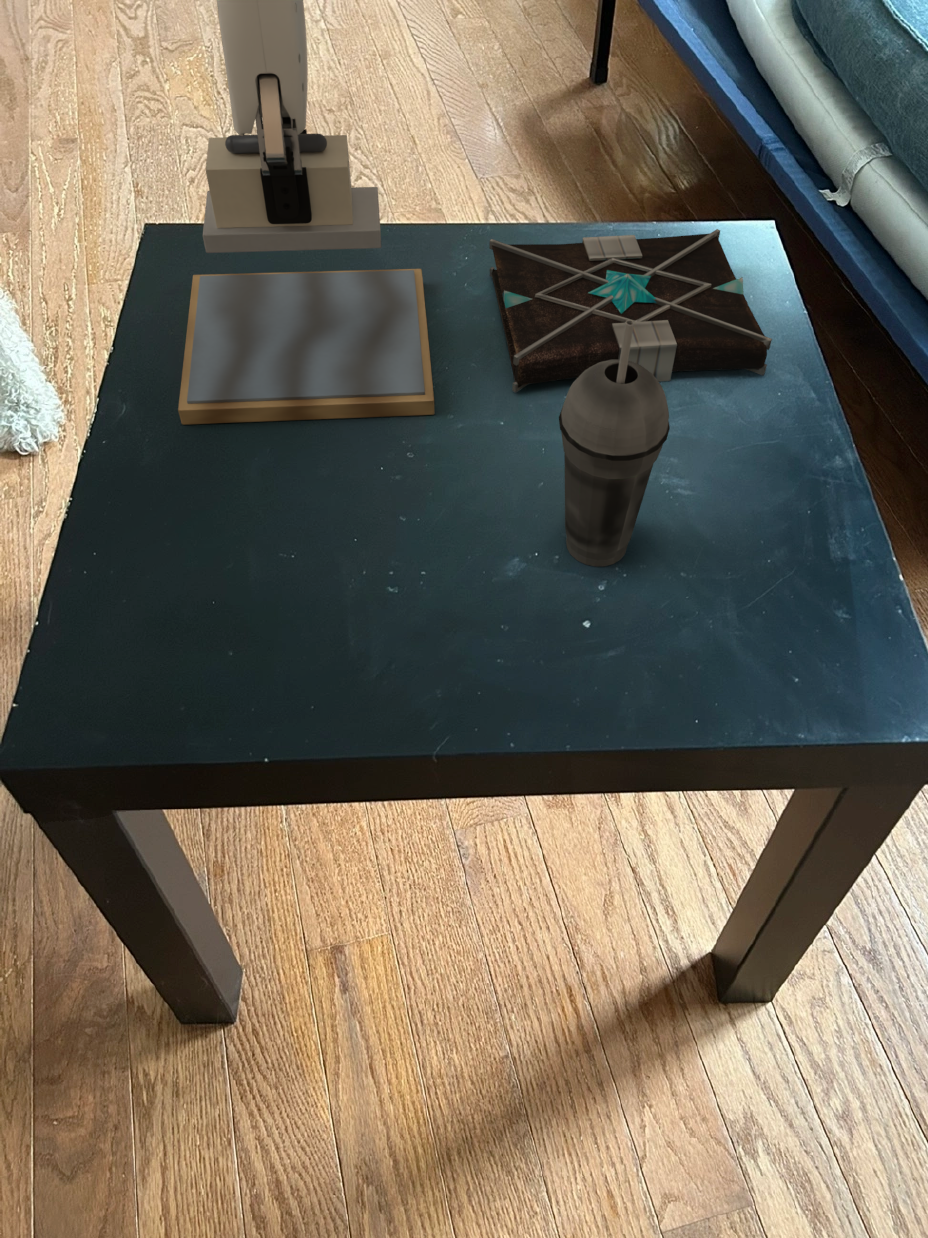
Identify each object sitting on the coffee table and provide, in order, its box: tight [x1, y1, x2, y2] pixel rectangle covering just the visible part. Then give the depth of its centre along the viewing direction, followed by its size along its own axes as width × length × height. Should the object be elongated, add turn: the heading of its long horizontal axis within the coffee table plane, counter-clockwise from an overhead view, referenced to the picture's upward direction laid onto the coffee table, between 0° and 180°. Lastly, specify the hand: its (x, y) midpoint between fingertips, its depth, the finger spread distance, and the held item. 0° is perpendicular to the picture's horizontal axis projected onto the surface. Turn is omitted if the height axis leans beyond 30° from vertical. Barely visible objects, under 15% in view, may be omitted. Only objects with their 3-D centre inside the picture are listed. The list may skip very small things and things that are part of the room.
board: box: [177, 268, 436, 426], centre depth 93 cm, size 20×18×2 cm
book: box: [488, 228, 773, 394], centre depth 95 cm, size 22×17×5 cm
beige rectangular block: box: [202, 133, 382, 254], centre depth 82 cm, size 13×6×7 cm, turn 96°
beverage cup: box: [558, 320, 671, 568], centre depth 73 cm, size 7×7×20 cm
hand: (290, 199), depth 83 cm, fingers closed on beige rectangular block, 4 cm apart
